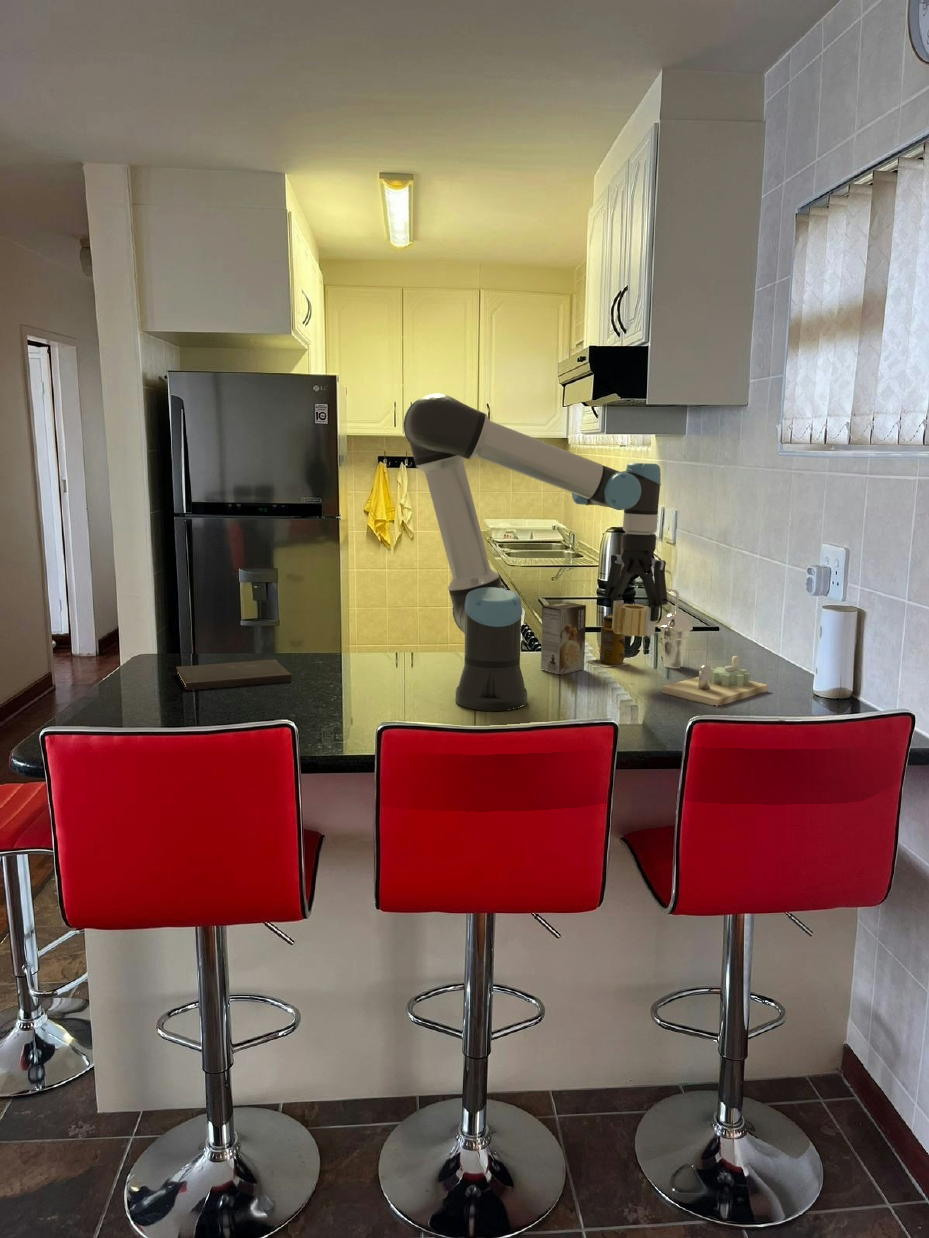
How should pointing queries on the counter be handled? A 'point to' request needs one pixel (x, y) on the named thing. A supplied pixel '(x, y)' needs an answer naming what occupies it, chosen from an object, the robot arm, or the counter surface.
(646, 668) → the counter surface
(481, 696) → the robot arm
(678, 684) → the board
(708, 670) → the steel peg
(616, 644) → the condiment
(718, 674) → the crank gear
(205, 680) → the hardcover book
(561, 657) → the brown and white box
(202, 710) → the counter surface
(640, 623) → the brass gear
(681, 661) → the cup with straw
